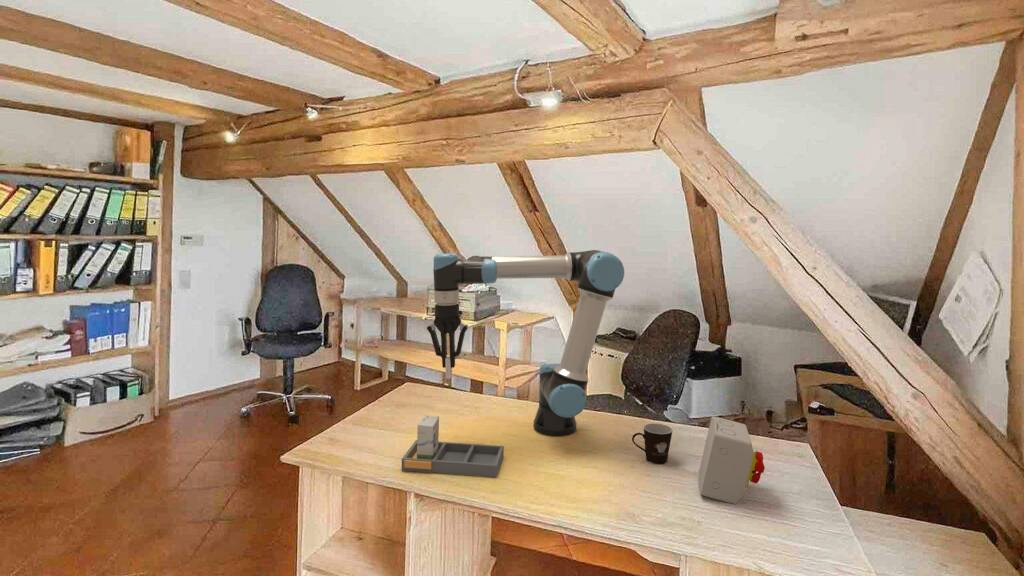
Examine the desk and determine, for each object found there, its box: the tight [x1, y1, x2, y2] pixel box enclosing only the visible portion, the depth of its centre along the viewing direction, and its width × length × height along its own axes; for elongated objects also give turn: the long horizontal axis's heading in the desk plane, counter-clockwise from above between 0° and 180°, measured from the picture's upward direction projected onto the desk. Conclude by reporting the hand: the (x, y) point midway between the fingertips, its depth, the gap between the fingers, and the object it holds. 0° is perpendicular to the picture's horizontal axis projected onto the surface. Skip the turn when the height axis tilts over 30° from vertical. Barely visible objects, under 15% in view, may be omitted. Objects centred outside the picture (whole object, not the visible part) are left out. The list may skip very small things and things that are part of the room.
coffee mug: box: [631, 422, 674, 465], centre depth 172 cm, size 12×9×10 cm
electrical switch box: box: [698, 415, 766, 505], centre depth 151 cm, size 15×15×20 cm
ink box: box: [416, 415, 440, 460], centre depth 167 cm, size 9×5×12 cm, turn 176°
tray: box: [401, 439, 505, 478], centre depth 167 cm, size 28×15×4 cm, turn 83°
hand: (449, 377), depth 175 cm, fingers closed
